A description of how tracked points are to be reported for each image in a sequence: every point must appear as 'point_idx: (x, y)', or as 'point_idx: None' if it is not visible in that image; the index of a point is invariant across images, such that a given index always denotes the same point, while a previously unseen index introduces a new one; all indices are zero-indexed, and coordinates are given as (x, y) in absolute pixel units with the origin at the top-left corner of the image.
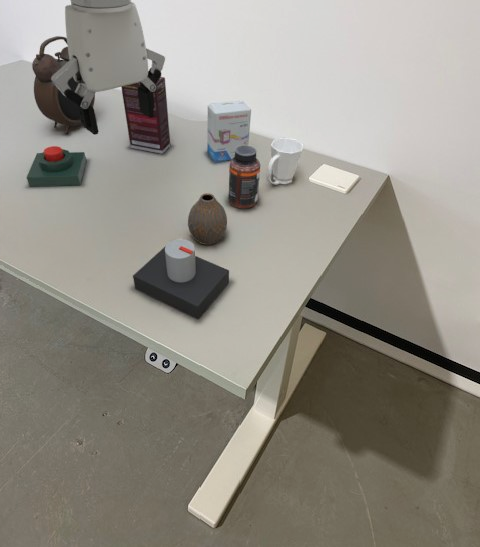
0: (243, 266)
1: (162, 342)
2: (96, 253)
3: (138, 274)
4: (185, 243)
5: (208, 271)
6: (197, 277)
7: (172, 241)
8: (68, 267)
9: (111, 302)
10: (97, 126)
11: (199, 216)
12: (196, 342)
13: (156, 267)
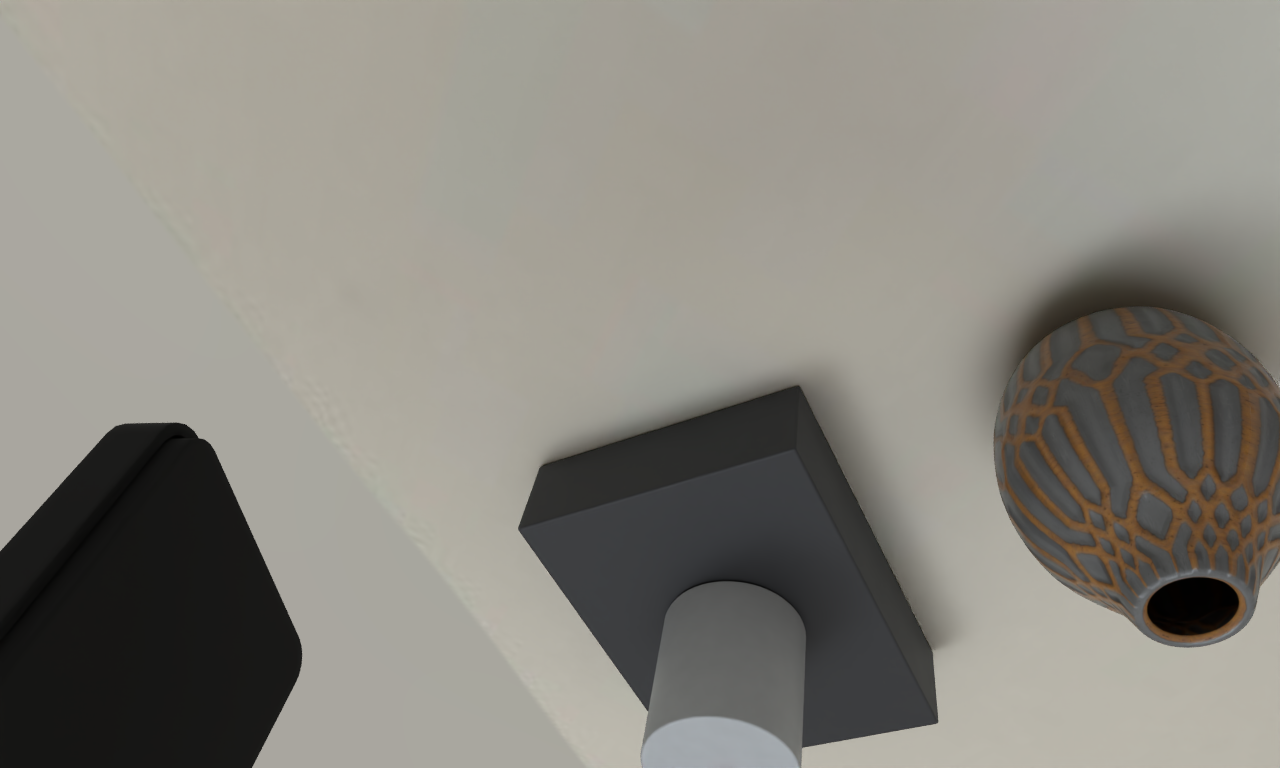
0: (1079, 621)
1: (533, 694)
2: (435, 130)
3: (545, 538)
4: (766, 761)
5: (849, 684)
6: None
7: (715, 721)
8: (261, 155)
9: (417, 470)
10: (264, 741)
11: (1051, 561)
12: (638, 748)
13: (645, 548)
